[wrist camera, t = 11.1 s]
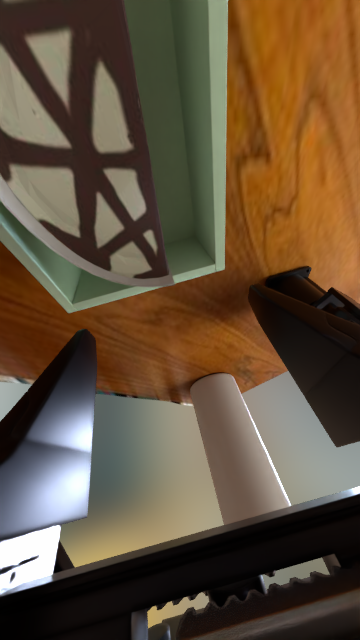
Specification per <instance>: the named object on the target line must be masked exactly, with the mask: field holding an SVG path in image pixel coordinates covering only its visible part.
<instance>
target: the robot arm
mask: <svg viewBox="0 0 360 640" xmlns="http://www.w3.org/2000/svg"><path fill="white" fill-rule="evenodd" d="M310 271H311V267H309V266H306V267H303V268H299V269H296V270H292V271H289V272H285V273H282V274H278V275H274V276H271V277H269V278H268V279H267V280H266V285H265V286H263V285H260V284H254V285H251V286H250V288H249V294H248V301H249V303H250V305H251V307H252V309H253V312H254V314H255V316H256V318H257V320H258V322H259V324H260V326H261V327H262V329H263V331H264V332H265V334H266V335H267V337H268V339H269V340H270V342H271V343H272V345H273V347H274V348H275V350H276V351H277V353H278V355H279V356H280V358H281V359H282V361H283V363H284V364H285V366H286V367H287V369H288V371H289V372H290V374H291V376H292V377H293V379H294V380H295V382H296V384H297V385H298V387H299V388H300V390H301V392H302V393H303V395H304V396H305V398H306V400H307V401H308V403H309V404H310V406H311V408H312V409H313V411H314V412H315V414H316V416H317V417H318V419H319V421H320V422H321V424H322V425H323V427H324V429H325V430H326V432H327V433H328V435H329V437H330V438H331V440H332V441H333V443H334V444H335V446H336V447H341V446H344V445H347V444H351V443H355V442H358V441H360V304H359V303H357V302H356V301H355V300H353V299H352V298H350V297H349V296H347V295H345V294H343V293H342V292H340V291H338V290H336V289H334V288H333V287H331V288H330V289H329V290H328V292H326V291H325V290H323V289H322V288H321V287H319V286H318V285H317V284H316V283H314V282H313V281H312V280H310V279H309V278H308V276H309V274H310ZM96 377H97V354H96V340H95V338H94V337H93V335H92V334H91V333H90V332H89V331H88V330H87V329H82V330H79V331H77V332H76V333H75V335H74V336H73V337H72V338H71V339H70V341H69V342H68V343H67V344H66V345H65V346H64V348H63V349H62V350H61V351H60V352H59V354H58V355H57V356H56V357H55V358H54V360H53V361H52V362H51V363H50V364H49V366H48V367H47V368H46V369H45V370H44V371H43V373H42V374H41V375H40V376H39V377H38V379H37V380H36V381H35V382H34V383H33V385H32V386H31V387H30V388H29V389H28V392H26V393H25V394H24V395H23V397H22V398H21V399H20V400H19V401H18V402H17V403H16V405H15V406H14V407H13V408H12V409H11V410H10V411H9V413H8V414H7V415H6V416H5V417H4V418H3V419H2V420H1V421H0V640H360V487H356V488H353V489H349V490H346V491H342V492H339V493H335V494H332V495H328V496H325V497H321V498H318V499H314V500H311V501H307V502H304V503H300V504H297V505H293V506H289V507H286V508H282V509H279V510H275V511H272V512H268V513H265V514H261V515H258V516H254V517H251V518H247V519H244V520H240V521H237V522H233V523H230V524H226V525H223V526H220V527H216V528H212V529H209V530H205V531H202V532H198V533H195V534H191V535H188V536H184V537H181V538H178V539H174V540H170V541H167V542H163V543H160V544H157V545H153V546H149V547H146V548H142V549H139V550H135V551H132V552H128V553H125V554H121V555H118V556H114V557H111V558H107V559H104V560H100V561H97V562H93V563H90V564H86V565H83V566H79V567H76V568H75V567H74V566H73V564H72V562H71V560H70V558H69V557H68V555H67V554H66V552H65V549H64V548H63V546H62V544H61V542H60V541H59V536H60V530H61V525H62V524H66V523H69V522H73V521H77V520H80V519H83V518H86V517H87V512H88V499H89V484H90V469H91V452H92V451H91V450H92V436H93V422H94V406H95V392H96ZM321 557H322V558H323V560H324V562H325V564H326V567H327V569H328V571H329V573H330V575H324V574H322V573H319V572H316V571H314V572H311V573H310V577H308V578H304V579H298V578H296V577H294V578H290V582H289V583H287V584H284V585H281V586H280V585H278V584H276V583H274V584H270V585H269V589H267V590H266V588H265V584H264V581H263V578H262V575H263V574H265V575H267V576H269V577H273V576H274V575H275V571H277V570H280V569H284V568H287V567H290V566H293V565H297V564H301V563H304V562H308V561H311V560H314V559H318V558H321ZM201 592H203V593H204V594H205V595H206V596H208V597H209V603H208V604H207V606H206V607H205V608H202V609H199V610H195V609H194V607H192V608H188V609H187V610H186V612H185V613H184V614H182V615H178V616H175V617H172V618H168V619H165V620H163V621H162V623H160V624H156V625H154V626H152V627H150V628H149V629H148V620H147V611H148V610H150V609H151V607H153V606H156V607H157V610H160V609H162V608H163V607H164V606H165V605H166V604H167V602H170V601H172V603H173V605H177V604H178V603H179V602H180V601H181V600H182V599H183V598H184V597H188V599H189V600H190V601H191V600H194V599H195V598H196V596H197V595H198V594H199V593H201Z"/></svg>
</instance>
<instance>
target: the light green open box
mask: <svg viewBox="0 0 360 640" xmlns="http://www.w3.org/2000/svg"><path fill="white" fill-rule="evenodd" d="M124 4H125V10H126V16H127V22H128V28H129V35H130V41H131V47H132V53H133V59H134V65H135V72H136V78H137V84H138V90H139V96H140V102H141V107H142V113H143V119H144V125H145V130H146V135H147V142H148V147H149V154H150V160H151V166H152V172H153V179H154V185H155V191H156V198H157V204H158V209H159V215H160V221H161V227H162V233H163V239H164V246H165V251H166V257H167V260H168V264H169V267H170V270H171V273H172V277H173V280H174V283H178V282H182V281H185V280H189V279H192V278H196V277H199V276H203V275H206V274H210V273H214V272H215V271H216V272H217V271H221V270H224V269H225V189H226V105H227V21H228V0H124ZM0 241H1V242H2V243H3V244H4V245H5V246H6V247H7V248H8V249H9V250H10V252H11V253H12V254H13V255H14V256H15V257H16V258H17V259H18V260H19V261H20V262H21V263H22V264H23V265H24V266H25V267H26V269H27V270H28V271H29V272H30V273H31V274H32V275H33V276H34V277H35V278H36V279H37V280H38V281H39V282H40V283H41V285H42V286H43V287H44V288H45V289H46V290H47V291H48V292H49V293H50V294H51V295H52V296H53V297H54V298H55V299H56V300H57V302H58V303H59V304H60V305H61V306H62V307H63V308H64V309H65V310H66V311H67V312H68V313H71V312H75V311H77V310H78V311H79V310H82V309H86V308H89V307H93V306H97V305H100V304H104V303H107V302H111V301H114V300H118V299H121V298H125V297H128V296H132V295H136V294H139V293H143V292H146V291H150V290H153V289H157V288H160V287H138V286H129V285H124V284H120V283H116V282H112V281H109V280H106V279H104V278H101V277H98V276H96V275H93V274H91V273H89V272H87V271H85V270H83V269H81V268H79V267H77V266H75V265H74V264H72V263H70V262H69V261H67V260H66V259H64V258H63V257H61V256H60V255H58V254H57V253H55V252H54V251H52V250H51V249H50V248H49V247H48V246H46V245H45V244H44V243H43V242H42V241H40V240H39V239H38V238H37V237H36V236H34V235H33V234H32V233H31V232H30V231H29V230H28V229H27V228H26V227H25V226H24V225H23V224H22V223H21V222H20V221H19V220H18V219H17V218H16V217H15V216H14V215H13V214H12V213H11V212H10V211H9V210H8V209H7V208H6V207H5V206H4V204H3V203H2V202H1V201H0Z"/></svg>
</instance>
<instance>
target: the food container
mask: <svg viewBox="0 0 360 640" xmlns="http://www.w3.org/2000/svg"><path fill="white" fill-rule="evenodd" d="M0 201H1V202H2V203H3V204H4V206H5V207H6V208H7V209H8V210H9V211H10V212H11V213H12V214H13V215H14V216H15V217H16V218H17V219H18V220H19V221H20V222H21V223H22V224H23V225H24V226H25V227H26V228H27V229H28V230H29V231H30V232H31V233H32V234H33V235H34V236H36V237H37V238H38V239H39V240H40V241H42V242H43V243H44V244H45V245H46V246H48V247H49V248H50V249H51V250H52V251H54V252H55V253H57V254H58V255H60V256H61V257H63V258H64V259H66V260H67V261H69V262H70V263H72V264H74V265H75V266H77V267H79V268H81V269H83V270H85V271H87V272H89V273H91V274H93V275H96V276H98V277H101V278H104V279H106V280H109V281H112V282H116V283H120V284H124V285H129V286H138V287H165V286H172V285H175V283H174V280H173V277H172V273H171V270H170V267H169V264H168V260H167V257H166V251H165V246H164V239H163V233H162V227H161V221H160V215H159V209H158V204H157V198H156V191H155V185H154V179H153V172H152V166H151V160H150V154H149V147H148V142H147V135H146V130H145V125H144V119H143V113H142V107H141V102H140V96H139V90H138V84H137V78H136V72H135V65H134V59H133V53H132V47H131V41H130V35H129V28H128V22H127V16H126V10H125V4H124V0H0Z"/></svg>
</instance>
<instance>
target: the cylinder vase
mask: <svg viewBox="0 0 360 640" xmlns="http://www.w3.org/2000/svg"><path fill="white" fill-rule="evenodd" d="M190 393H191V397H192V401H193V405H194V409H195V413H196V417H197V421H198V424H199V428H200V433H201V436H202V440H203V444H204V448H205V452H206V456H207V460H208V464H209V467H210V472H211V476H212V479H213V483H214V487H215V491H216V495H217V499H218V503H219V507H220V511H221V515H222V518H223V522H224V525H226V524H230V523H233V522H237V521H240V520H244V519H247V518H251V517H254V516H258V515H261V514H265V513H268V512H272V511H275V510H279V509H282V508H286V507H289V506H291V504H290V502H289V499H288V497H287V495H286V493H285V491H284V488H283V486H282V484H281V482H280V479H279V477H278V475H277V473H276V471H275V468H274V466H273V464H272V462H271V459H270V457H269V455H268V453H267V451H266V448H265V446H264V444H263V442H262V439H261V437H260V435H259V433H258V431H257V428H256V426H255V424H254V422H253V419H252V417H251V415H250V413H249V410H248V408H247V406H246V404H245V402H244V399H243V397H242V395H241V393H240V390H239V388H238V386H237V384H236V382H235V379H234V377H233V376H232V375H230V374H227V373H217V374H212V375H209V376H206V377H204V378H202V379H200V380H198V381H197V382H195V383H194V384H193V385H192V387H191V389H190Z"/></svg>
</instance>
